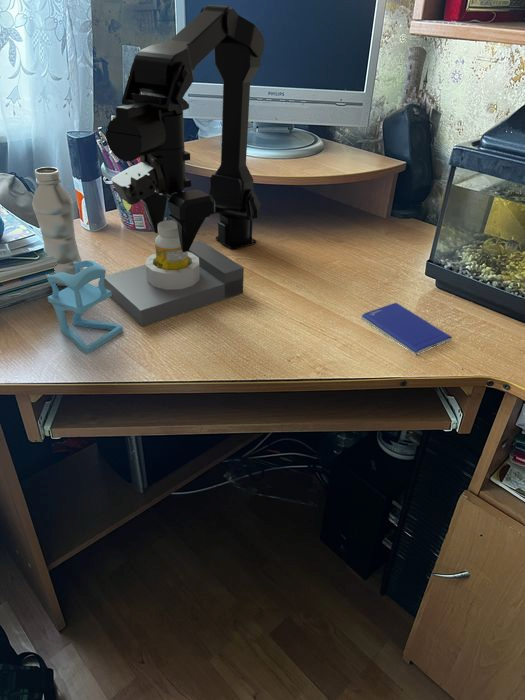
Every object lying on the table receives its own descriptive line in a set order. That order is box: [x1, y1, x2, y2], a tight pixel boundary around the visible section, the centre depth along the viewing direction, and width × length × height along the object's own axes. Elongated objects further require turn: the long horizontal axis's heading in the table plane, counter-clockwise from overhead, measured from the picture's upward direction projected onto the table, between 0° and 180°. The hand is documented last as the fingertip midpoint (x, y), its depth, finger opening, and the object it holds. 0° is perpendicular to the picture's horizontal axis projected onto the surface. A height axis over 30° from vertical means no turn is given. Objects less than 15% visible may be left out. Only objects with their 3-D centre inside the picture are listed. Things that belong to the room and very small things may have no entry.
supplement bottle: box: [154, 219, 188, 270], centre depth 93 cm, size 5×5×10 cm
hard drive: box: [360, 302, 453, 355], centre depth 90 cm, size 2×8×12 cm
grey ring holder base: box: [104, 239, 245, 328], centre depth 95 cm, size 20×14×6 cm
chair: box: [45, 259, 124, 354], centre depth 82 cm, size 8×8×12 cm
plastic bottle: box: [31, 166, 85, 287], centre depth 93 cm, size 6×7×20 cm
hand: (170, 241), depth 91 cm, fingers open, 9 cm apart
